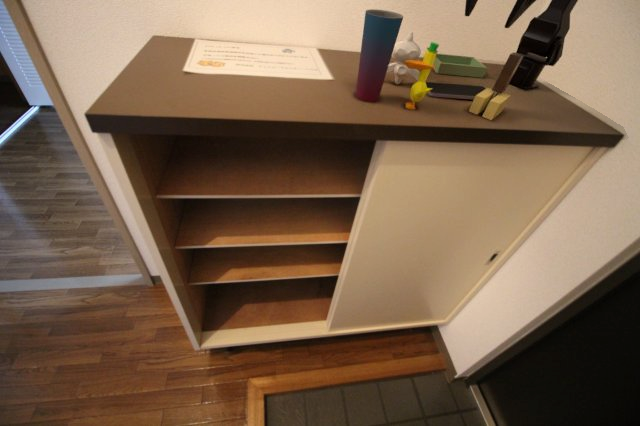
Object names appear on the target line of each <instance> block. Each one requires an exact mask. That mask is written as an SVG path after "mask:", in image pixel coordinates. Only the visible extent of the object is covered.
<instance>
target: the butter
mask: <svg viewBox="0 0 640 426" xmlns="http://www.w3.org/2000/svg"><path fill="white" fill-rule="evenodd" d="M492 89H493V88H490V87H486V89H485V90H484V91H482V92H480V93H479V94H477V95H476V96H475V98H474V100H472V102H471V105H470V107H469V110H468V112H469V113H472V114H474V115H479V114H480V113H482V112H483V111H484V112H483V114H482V118H485V119H487V120H489V121H492V120H493V119H495V118H496V117H497V116H498V115H499V114H501V113H502V112H503V110H504V108H505V107H506V105H507V104H508V101H509V100H510V99H511V97H512V96H511V94H507V93H504V92H503V93H499V94H498V95H497V96H496V97H494V98H493V99H492V97H493V95H494V93H495V91H492ZM491 99H492V100H491Z"/></svg>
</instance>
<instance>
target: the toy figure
mask: <svg viewBox="0 0 640 426" xmlns="http://www.w3.org/2000/svg"><path fill="white" fill-rule="evenodd" d="M439 46H440V44H438V43H436V42H432V41H431V42H430V45H429V47H426V50H425V52H424V55H423V59H422V60H421V59H417V60H411V59H410V60H406V61H405V64H406V66H407V67H408V68H411V69H417V70H418V71H419V72H420V73H419V78H418V81H417V80H416V81H415V82H414V83H413V84H412V85H411V88H410V90H409V98H410V100H411V101H412V102H410V101H408V102H405V105H404V106H405V108H406V109H408V110H416V103H419V102H420V101H421V100H422V99H423V98H424V97H425V96H427V95H428V92H429V91H430V90H432V89H433V88H427V86H426V82H427V79H428V77H429V75H430V73H431V71H434V70H433V69H434V68H435V67H434V65H433V63H434V60H435V57H436V55H437V54H438V52H439V51H438V48H439Z"/></svg>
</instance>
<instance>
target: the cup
mask: <svg viewBox="0 0 640 426" xmlns="http://www.w3.org/2000/svg"><path fill="white" fill-rule="evenodd" d="M364 13H365V14H364V22H363V29H362V37H361V46H360V47H361V48H360V53H359V54H360V55H359V63H358V70H357V71H358V73H357V80H356V88H355V97H356V98H357V99H358V100H360V101H362V102H367V103H374V102H377V101H378V100H379V98H380V95H381V92H382V88H383V85H384V82H385V79H386V75H387V73H388V72H387V69H388V66H389V64H390V63H391V58H392V53H393V49H394V46H395V43H397V39H398V36H399V33H400V29H401V26H402V23H403V19H404V15H403V14H401V13H398V12H394V11H391V10H384V9H376V8H375V9H372V8H371V9H366V10H365V12H364ZM386 72H387V73H386Z"/></svg>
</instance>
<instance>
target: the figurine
mask: <svg viewBox="0 0 640 426" xmlns="http://www.w3.org/2000/svg"><path fill="white" fill-rule="evenodd" d="M421 52H422V50H421V48H420V46H419V44H417V42H415V41H414V33H413V31H409V32H408V33H407V35H406V37H405V38H404V39H402V40H399V41H396V43H395V46H394V49H393V53H392V56H391V58H392V59H393V60H394V62H389V66H388V69H387V72H386V74H387V73H390V72H393V74H394V83H395V85H400V84H401V82H403V80H404V78H406V77H407V76H408V75H410V76H412V77H413V78H414V79H415V81H416V82H417V81H418V78H419V73H420V70H417V69H411V68H408V67H407V66H406V64H405V61H406V60H410V59H411V60H419V58H420V56H421V54H422V53H421Z"/></svg>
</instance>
